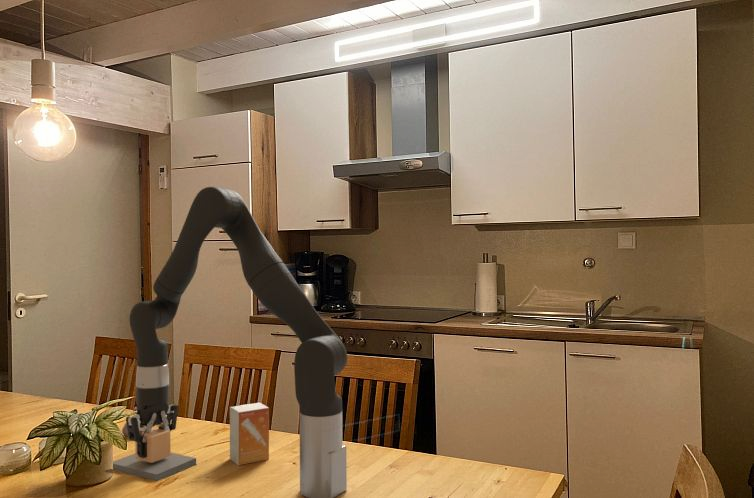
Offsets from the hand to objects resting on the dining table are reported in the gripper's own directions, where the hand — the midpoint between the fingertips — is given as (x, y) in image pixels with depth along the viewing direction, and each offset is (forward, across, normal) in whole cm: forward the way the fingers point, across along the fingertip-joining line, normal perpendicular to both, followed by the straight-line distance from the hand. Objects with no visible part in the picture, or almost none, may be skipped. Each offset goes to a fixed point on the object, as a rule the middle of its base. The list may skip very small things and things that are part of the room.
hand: (153, 453), depth 147 cm
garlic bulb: (+4, +15, +24) cm, 29 cm away
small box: (+3, +15, -17) cm, 23 cm away
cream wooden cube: (+1, 0, 0) cm, 1 cm away
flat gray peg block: (+3, 0, 0) cm, 3 cm away
